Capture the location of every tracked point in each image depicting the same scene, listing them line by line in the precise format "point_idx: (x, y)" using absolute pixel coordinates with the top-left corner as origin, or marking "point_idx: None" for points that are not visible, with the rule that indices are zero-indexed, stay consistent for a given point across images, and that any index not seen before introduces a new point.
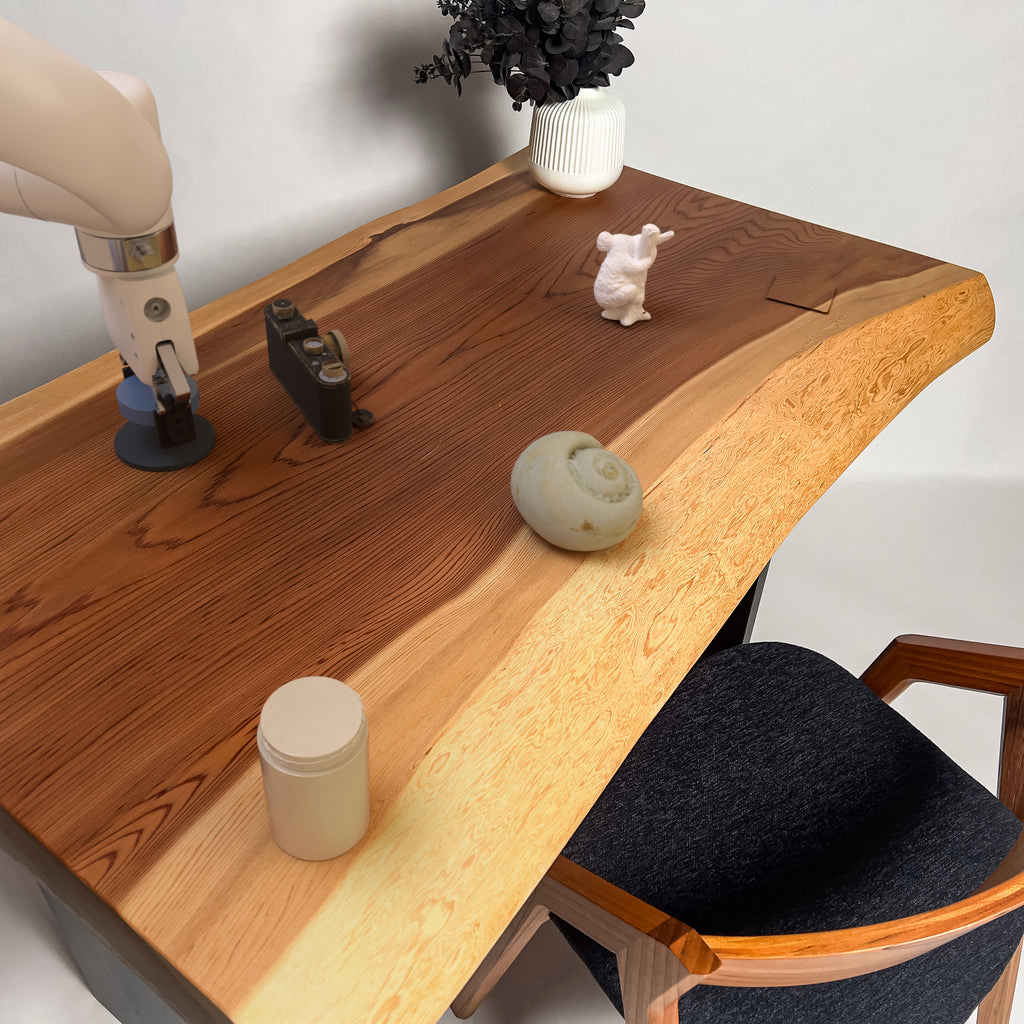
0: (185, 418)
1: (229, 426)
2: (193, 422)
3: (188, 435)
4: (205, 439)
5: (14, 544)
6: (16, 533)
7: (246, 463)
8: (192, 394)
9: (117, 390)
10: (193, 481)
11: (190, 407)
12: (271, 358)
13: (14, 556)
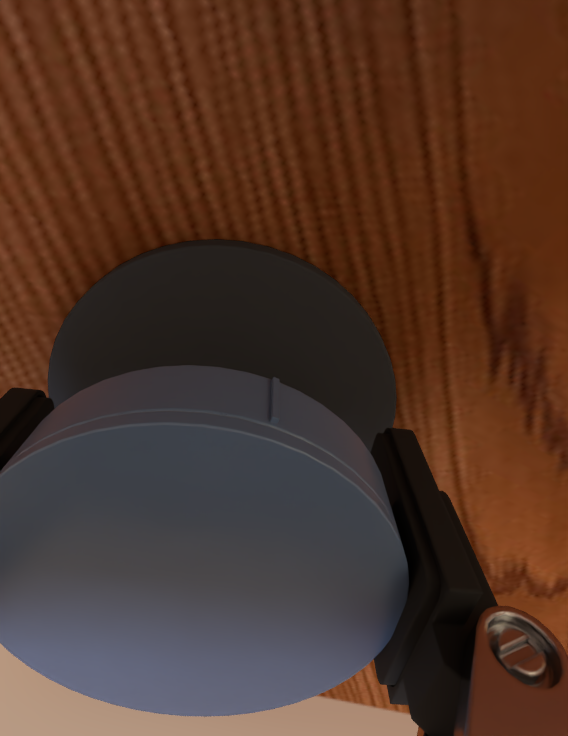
0: (485, 579)
1: (269, 167)
2: (437, 487)
3: (448, 497)
4: (326, 321)
5: (363, 699)
6: (338, 692)
7: (528, 254)
8: (348, 502)
9: (106, 699)
10: (461, 430)
11: (471, 570)
12: None
13: (391, 705)
